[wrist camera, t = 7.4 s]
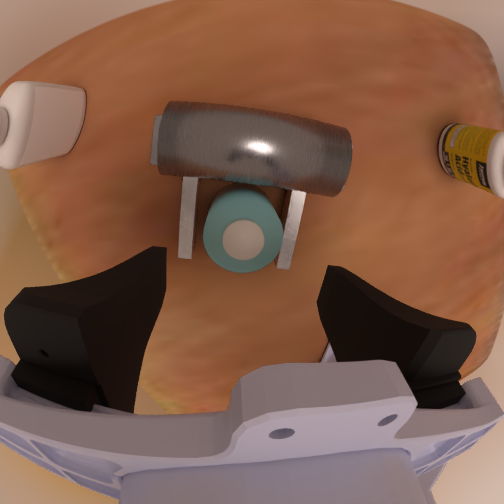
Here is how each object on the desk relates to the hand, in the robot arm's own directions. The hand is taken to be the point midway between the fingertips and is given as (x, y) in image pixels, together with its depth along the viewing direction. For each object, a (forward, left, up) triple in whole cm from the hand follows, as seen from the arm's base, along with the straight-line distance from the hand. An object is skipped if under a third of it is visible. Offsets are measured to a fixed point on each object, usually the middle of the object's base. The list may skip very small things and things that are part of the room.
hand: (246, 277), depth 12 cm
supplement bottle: (+10, -19, -10) cm, 23 cm away
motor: (+2, 0, -10) cm, 10 cm away
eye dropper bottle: (+7, +15, -10) cm, 19 cm away
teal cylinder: (0, 0, -10) cm, 10 cm away
